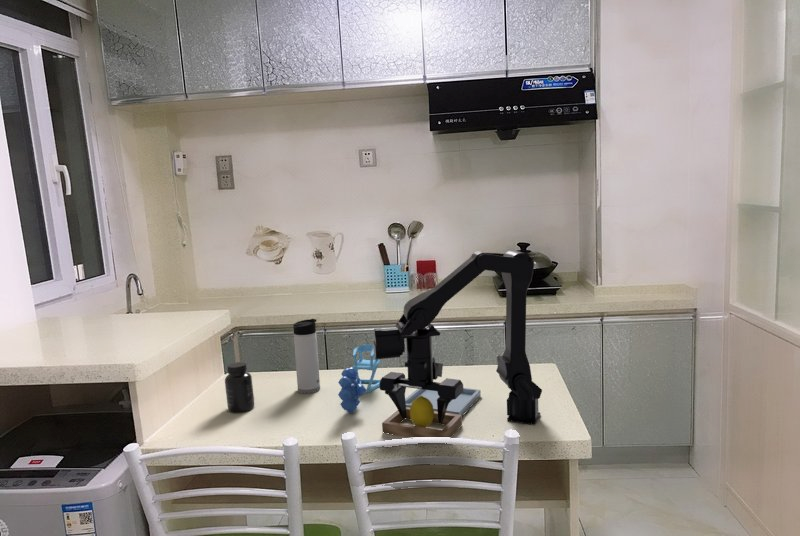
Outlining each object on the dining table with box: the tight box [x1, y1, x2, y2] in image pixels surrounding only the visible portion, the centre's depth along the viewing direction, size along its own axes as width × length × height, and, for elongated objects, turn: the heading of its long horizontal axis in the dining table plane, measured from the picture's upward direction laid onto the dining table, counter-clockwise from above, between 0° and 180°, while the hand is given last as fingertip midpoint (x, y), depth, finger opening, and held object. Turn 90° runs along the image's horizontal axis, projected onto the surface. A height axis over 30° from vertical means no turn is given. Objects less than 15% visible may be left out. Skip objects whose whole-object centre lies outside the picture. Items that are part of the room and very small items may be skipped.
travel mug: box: [292, 318, 321, 394], centre depth 158 cm, size 6×7×20 cm
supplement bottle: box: [224, 361, 255, 414], centre depth 146 cm, size 7×7×12 cm
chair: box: [351, 343, 381, 394], centre depth 158 cm, size 8×8×12 cm
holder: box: [381, 407, 463, 438], centre depth 129 cm, size 15×10×2 cm
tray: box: [405, 387, 482, 416], centre depth 144 cm, size 16×16×2 cm
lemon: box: [410, 396, 434, 428], centre depth 129 cm, size 6×6×8 cm
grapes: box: [337, 366, 367, 414], centre depth 140 cm, size 12×7×12 cm, turn 168°
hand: (422, 420), depth 129 cm, fingers open, 9 cm apart
